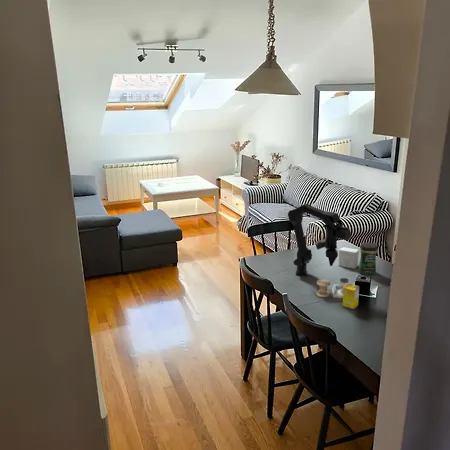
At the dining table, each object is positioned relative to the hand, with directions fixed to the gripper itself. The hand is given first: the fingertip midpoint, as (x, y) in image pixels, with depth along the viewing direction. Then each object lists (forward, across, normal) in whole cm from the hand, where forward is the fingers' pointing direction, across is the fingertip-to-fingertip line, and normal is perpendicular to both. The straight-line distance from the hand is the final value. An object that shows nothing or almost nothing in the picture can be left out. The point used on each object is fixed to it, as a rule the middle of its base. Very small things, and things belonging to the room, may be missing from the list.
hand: (330, 262), depth 236 cm
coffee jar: (+13, -17, +22) cm, 31 cm away
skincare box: (+13, -27, +12) cm, 32 cm away
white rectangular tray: (+12, +12, +7) cm, 19 cm away
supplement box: (+13, +26, +9) cm, 30 cm away
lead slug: (+12, +12, +7) cm, 18 cm away
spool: (+12, +14, -4) cm, 19 cm away
